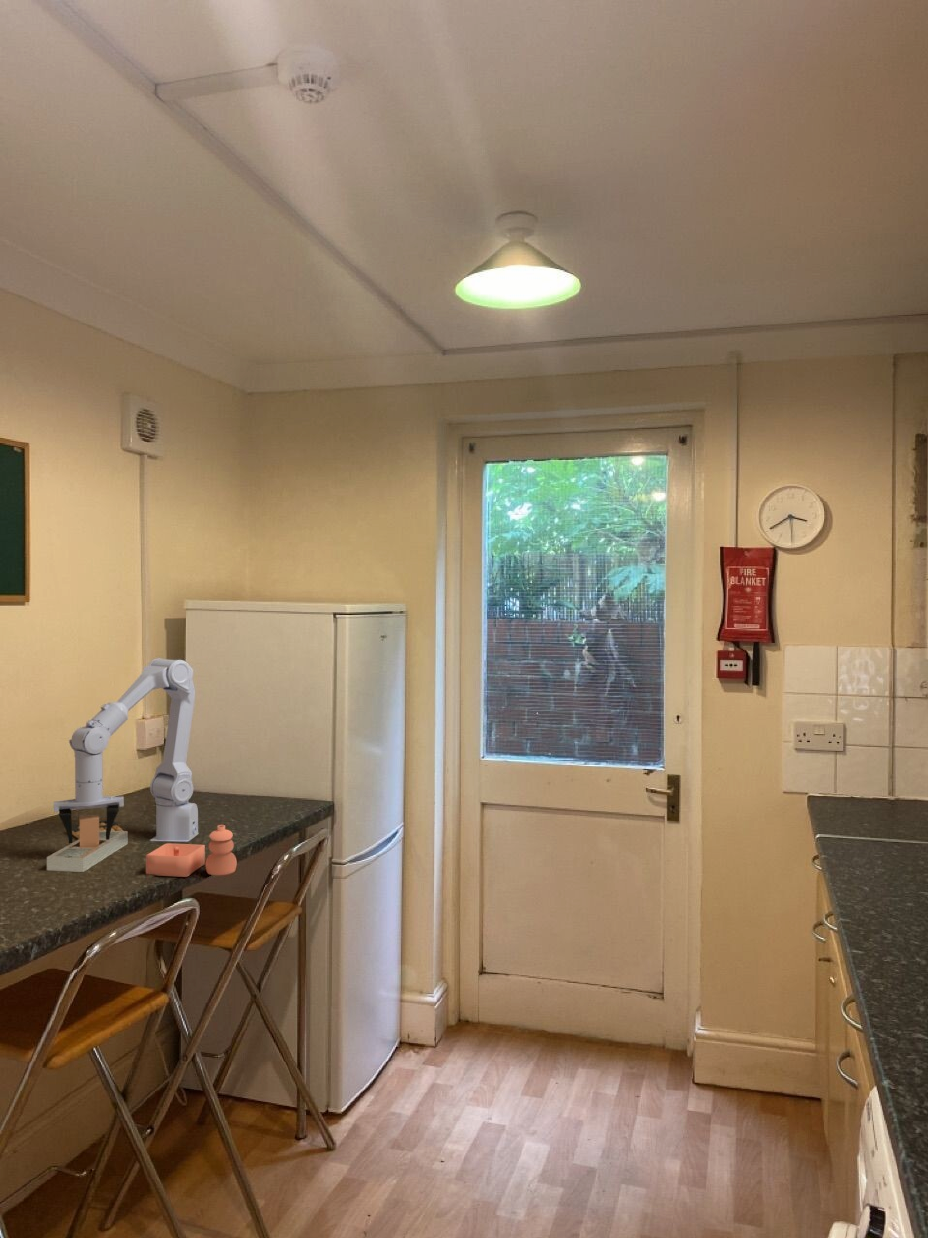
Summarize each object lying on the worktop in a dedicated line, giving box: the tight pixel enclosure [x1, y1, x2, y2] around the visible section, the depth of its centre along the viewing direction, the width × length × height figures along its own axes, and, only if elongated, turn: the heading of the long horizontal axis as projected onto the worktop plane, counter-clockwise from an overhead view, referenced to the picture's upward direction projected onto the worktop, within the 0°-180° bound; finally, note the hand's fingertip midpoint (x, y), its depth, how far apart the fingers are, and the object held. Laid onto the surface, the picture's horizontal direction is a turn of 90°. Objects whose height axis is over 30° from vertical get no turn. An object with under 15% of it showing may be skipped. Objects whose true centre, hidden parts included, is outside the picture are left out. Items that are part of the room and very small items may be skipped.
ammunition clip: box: [71, 819, 124, 840], centre depth 221 cm, size 11×2×12 cm
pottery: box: [145, 824, 238, 878], centre depth 194 cm, size 18×10×10 cm, turn 83°
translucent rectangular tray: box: [46, 830, 129, 873], centre depth 203 cm, size 22×8×3 cm, turn 177°
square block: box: [79, 814, 100, 847], centre depth 203 cm, size 4×4×9 cm
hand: (89, 840), depth 203 cm, fingers open, 7 cm apart
